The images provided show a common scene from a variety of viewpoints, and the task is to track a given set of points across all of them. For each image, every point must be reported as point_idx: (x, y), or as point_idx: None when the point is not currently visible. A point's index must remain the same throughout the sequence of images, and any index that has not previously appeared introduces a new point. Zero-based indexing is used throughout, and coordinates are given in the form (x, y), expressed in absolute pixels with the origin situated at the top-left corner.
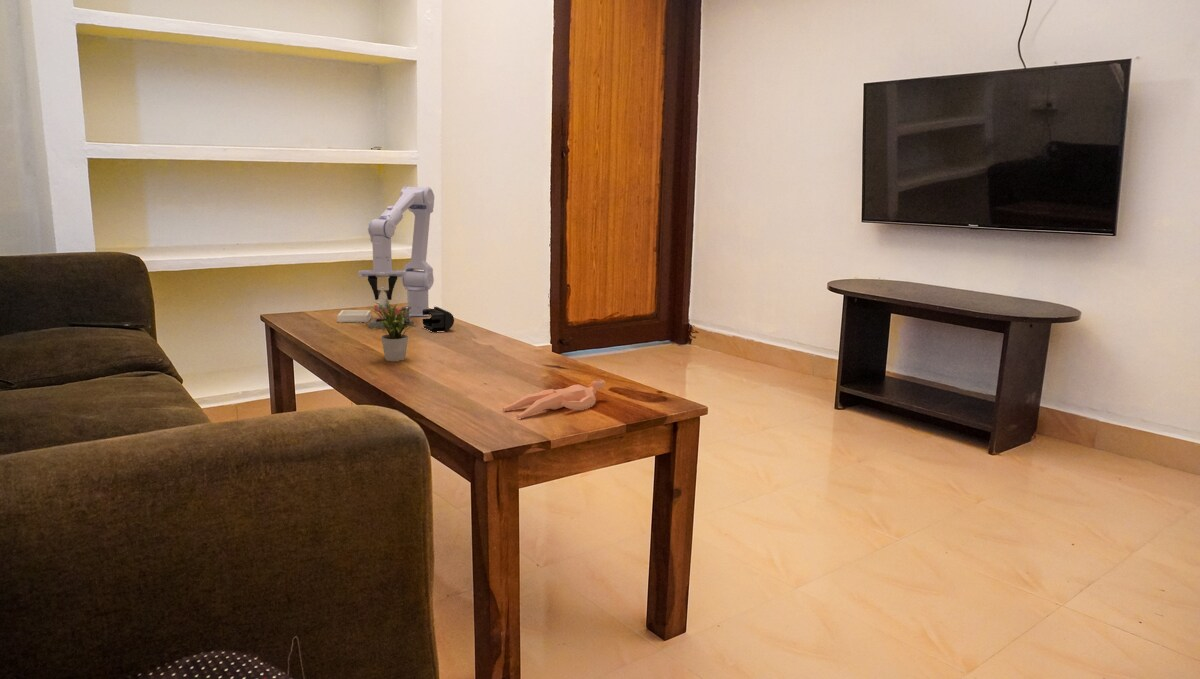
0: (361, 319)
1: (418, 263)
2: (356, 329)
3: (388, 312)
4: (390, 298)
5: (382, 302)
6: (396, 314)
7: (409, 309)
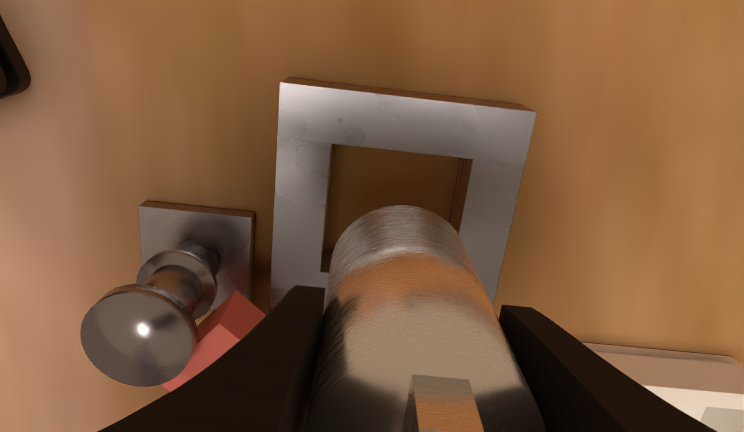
0: None
1: None
2: (638, 67)
3: None
4: (293, 290)
5: (421, 240)
6: None
7: (105, 295)
